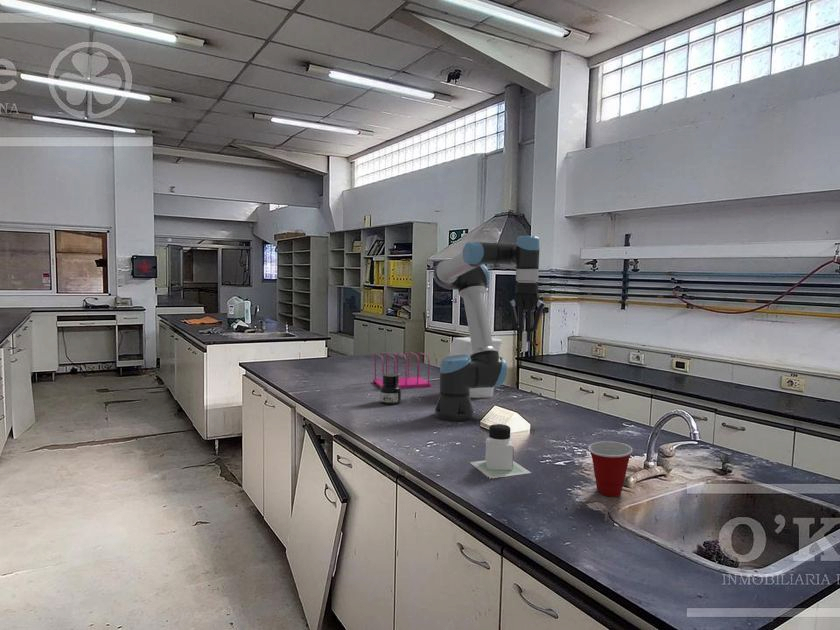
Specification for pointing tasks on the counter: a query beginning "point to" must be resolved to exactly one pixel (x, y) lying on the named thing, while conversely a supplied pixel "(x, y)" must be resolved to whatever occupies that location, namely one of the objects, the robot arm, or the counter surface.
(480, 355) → the robot arm
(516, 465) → the pad
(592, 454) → the plastic cup
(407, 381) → the file sorter
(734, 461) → the counter surface
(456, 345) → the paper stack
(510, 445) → the medicine bottle
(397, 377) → the ink bottle
